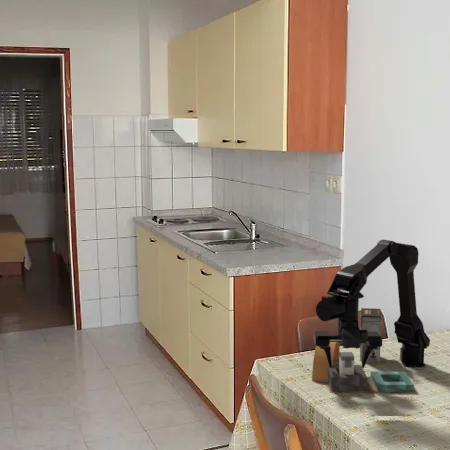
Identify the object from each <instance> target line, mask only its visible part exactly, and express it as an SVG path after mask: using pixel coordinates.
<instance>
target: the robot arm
mask: <svg viewBox="0 0 450 450" xmlns="http://www.w3.org/2000/svg"><path fill="white" fill-rule="evenodd" d="M387 259H389V262H390V265H391V266H392V268H393V269H394V271H395V272H396V279H397V281H396V282H397V293H398V305H399V317H398V319H397V320H396V321H394V323H393V325H394V334H395V336H396V340H397V343H398V344H401V347H400V350H399V352H400V353H399V360H400V361H401V363H402V364H403V366H404V367H426V364H425V349H427V348H429V347H430V344H431V339H430V338H429V336H428V335H427V333H426V332H425V328H424V324H423V321H422V320H421V318H420V316H419V315H418V314H417V312H418V311H417V301H416V300H417V299H416V289H415V287H416V286H415V273H414V270H415V269H416V267H417V266H418V264H419V249H418V247H417V246H416V245H413V244H407V243H400V242H396V241H393V240H388V239H381V240H378V241H377V244H376V245H375V246H374V247H373V248H371V250H369V251H368V252H367V253H366V254H365V255H364V256H363V257H361V258H360V259H359V260H358V261H357V262H355V263H354V264H351V265H347V266H344V267H343V268H340V270H338V271H337V272H336V274H335V275H334V278H333V280H332V282H331V284H330V286H329V289H328V290H327V294H326V295H322V296H321V300H320V301H318V302H317V304H316V306H315V313H316V315H317V317H318V319H319V320H320V321H322V322H328V321H332V320H333V321H334V320H336V319H337V327H336V328H337V332H336V333H337V334H330V333H329V331H327V330H316V331H314V332H313V342H314V346H315V347H316V346H319V347H320V349H324V351H325V353H326V356H327V360H328V363H329V366H330V368H332V361H331V347H330V345H329V344H330V342H339V343H341V344H342V347H343V348H344V349H360V345H361V343H363V351H362V361H361V366H362V368H363V369H364V368H365V367H366V366H365V365H366V363H367V362H368V361H367V359H368V357H369V355H370V353H371V351H373V350H374V349H377V347H380V348H381V347H382V346H383V338H382V335H381V336H380V334H379V333H378V332H377V331H367V330H360V327H359V302H360V301H359V300H361V299H363V298H364V297H365V295H364V294H363V293H362V292H361V291H362V290H363V288H364V287H365V285H366V284H367V282H368V277H369V276H370V275H371V274H372V273H373V272H374V271H376V269H377V268H379V267H380V266H381V265H382V264H383V263H384V262H385V261H386V260H387Z"/></svg>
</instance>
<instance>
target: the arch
mask: <svg viewBox="0 0 450 450" xmlns="http://www.w3.org/2000/svg"><path fill="white" fill-rule="evenodd" d="M329 345H330V347H331V361H332V365H334V364H333V363H334V361H338V362H339V356H340V352H341V351H340V349H341V347H340V342H330V344H329ZM312 362H313V363H312V371H311V372H312V373H311V374H312V376H311V381H313V382H322V383H326V382H328V368H330V366H329V363H328V360H327V356H326V353H325V351H324V349H320V347H319V346H315V348H314V353H313V361H312Z"/></svg>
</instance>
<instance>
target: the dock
mask: <svg viewBox="0 0 450 450" xmlns="http://www.w3.org/2000/svg"><path fill="white" fill-rule="evenodd" d="M325 383H326V386H327V389H328V391H329V393H330V394H417V392H416V390H415V384H414V383H413V381H412V379H411V378H410V377H409V376H408V374H407V373H406V371H386V370H384V371H381V370H380V371H374V370H373V371H372V370H371V371H370V376H367V375H366V372H365V371H364V368H362V364H354V375H339V364H333V365H332V368H328V382H325Z"/></svg>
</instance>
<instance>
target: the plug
mask: <svg viewBox="0 0 450 450" xmlns="http://www.w3.org/2000/svg"><path fill="white" fill-rule="evenodd" d="M338 362H339V364H338V365H339V375H354V365H355V355H354V353H353V352H351V351H340V356H339V361H338Z"/></svg>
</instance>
